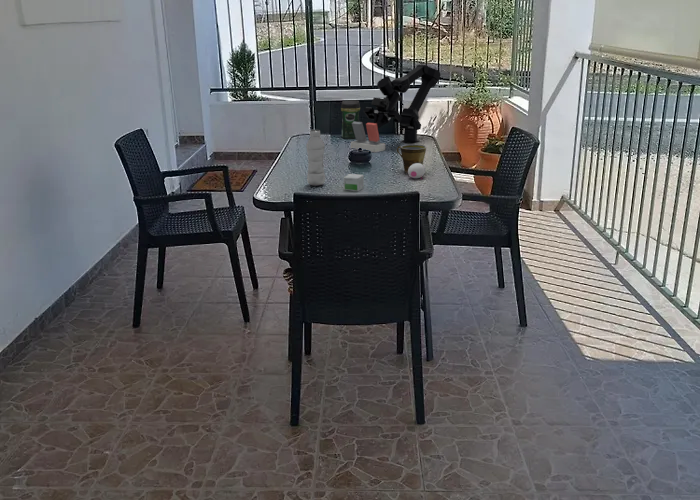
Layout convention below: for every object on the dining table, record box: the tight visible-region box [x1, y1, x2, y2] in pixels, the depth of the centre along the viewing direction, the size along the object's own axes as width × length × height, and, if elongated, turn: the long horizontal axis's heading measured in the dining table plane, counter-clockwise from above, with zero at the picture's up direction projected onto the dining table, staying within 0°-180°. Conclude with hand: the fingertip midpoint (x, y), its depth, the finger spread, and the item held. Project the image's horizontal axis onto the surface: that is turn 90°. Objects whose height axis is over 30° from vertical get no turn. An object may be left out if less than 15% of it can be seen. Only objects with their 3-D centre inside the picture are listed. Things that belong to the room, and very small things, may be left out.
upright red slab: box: [365, 122, 381, 144], centre depth 292 cm, size 2×5×9 cm, turn 47°
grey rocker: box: [352, 121, 368, 142], centre depth 297 cm, size 2×5×9 cm, turn 47°
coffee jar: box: [340, 99, 361, 140], centre depth 323 cm, size 10×8×19 cm
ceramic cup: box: [396, 143, 427, 174], centre depth 254 cm, size 13×10×10 cm
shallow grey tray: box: [350, 140, 386, 153], centre depth 298 cm, size 7×15×3 cm, turn 47°
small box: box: [343, 173, 365, 192], centre depth 231 cm, size 6×6×5 cm
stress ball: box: [407, 163, 426, 180], centre depth 245 cm, size 8×8×7 cm
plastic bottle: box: [306, 129, 326, 187], centre depth 234 cm, size 6×7×20 cm
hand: (373, 129), depth 292 cm, fingers closed, pressing on upright red slab
